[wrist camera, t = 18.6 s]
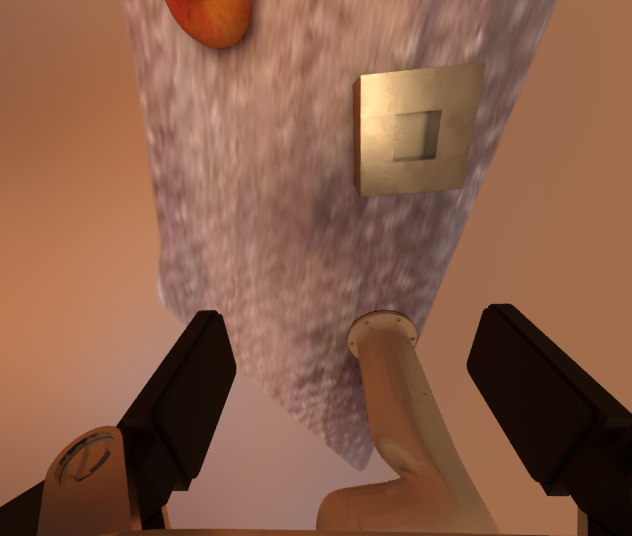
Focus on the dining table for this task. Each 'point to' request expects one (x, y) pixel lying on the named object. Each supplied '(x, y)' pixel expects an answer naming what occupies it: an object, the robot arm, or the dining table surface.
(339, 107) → the dining table surface
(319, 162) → the dining table surface
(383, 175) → the block
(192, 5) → the apple
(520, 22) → the dining table surface
